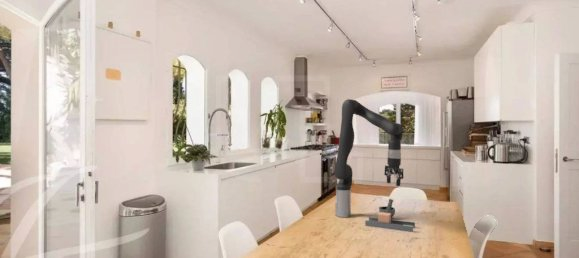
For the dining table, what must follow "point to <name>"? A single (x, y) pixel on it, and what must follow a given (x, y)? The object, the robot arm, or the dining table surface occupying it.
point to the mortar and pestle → (388, 208)
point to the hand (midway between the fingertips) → (393, 184)
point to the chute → (391, 224)
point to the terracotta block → (384, 217)
